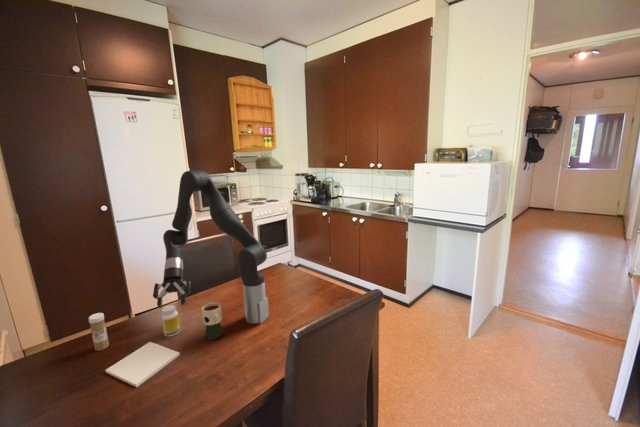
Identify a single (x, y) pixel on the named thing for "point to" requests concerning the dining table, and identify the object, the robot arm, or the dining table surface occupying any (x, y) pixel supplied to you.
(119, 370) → the ceramic tile
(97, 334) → the sprinkles bottle
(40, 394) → the dining table surface
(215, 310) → the character mug
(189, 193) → the robot arm
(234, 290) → the dining table surface
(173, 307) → the pill bottle
